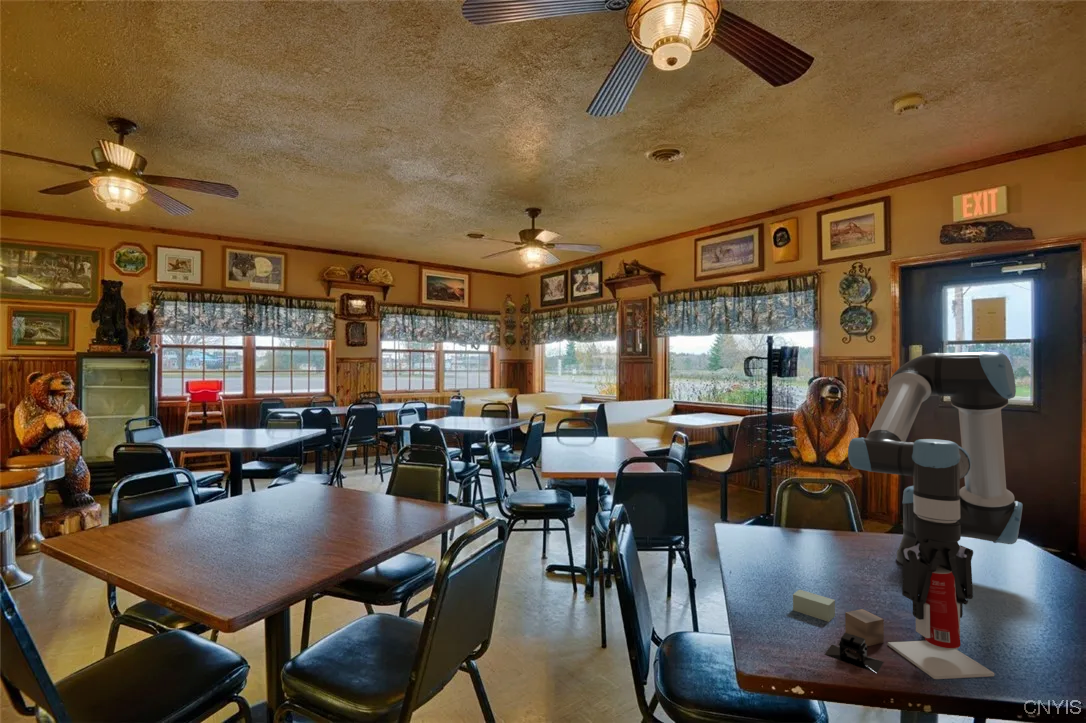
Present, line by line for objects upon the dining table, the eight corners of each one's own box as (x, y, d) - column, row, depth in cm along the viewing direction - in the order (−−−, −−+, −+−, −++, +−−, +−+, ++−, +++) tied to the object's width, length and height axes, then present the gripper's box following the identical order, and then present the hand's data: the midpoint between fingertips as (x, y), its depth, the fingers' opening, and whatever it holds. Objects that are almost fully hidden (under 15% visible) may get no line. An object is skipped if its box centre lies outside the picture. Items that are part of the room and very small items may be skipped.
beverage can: (967, 653, 101) (966, 575, 101) (929, 649, 102) (928, 572, 102) (949, 637, 107) (948, 563, 107) (914, 634, 108) (913, 561, 108)
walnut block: (862, 631, 116) (862, 608, 116) (883, 642, 111) (883, 619, 111) (845, 635, 114) (845, 612, 114) (866, 646, 109) (866, 623, 109)
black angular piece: (814, 655, 107) (814, 633, 107) (825, 642, 112) (825, 621, 112) (885, 681, 98) (884, 657, 98) (893, 665, 103) (893, 642, 103)
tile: (941, 642, 111) (941, 639, 111) (994, 676, 99) (994, 673, 99) (887, 645, 110) (887, 642, 110) (934, 679, 98) (934, 676, 98)
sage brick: (799, 605, 128) (799, 589, 129) (835, 617, 123) (834, 599, 123) (793, 611, 126) (792, 594, 126) (829, 622, 120) (828, 605, 120)
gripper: (963, 511, 109) (965, 623, 109) (878, 513, 108) (880, 626, 107) (997, 522, 101) (999, 641, 101) (906, 524, 100) (908, 645, 100)
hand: (937, 633), depth 104 cm, fingers closed on beverage can, 6 cm apart
